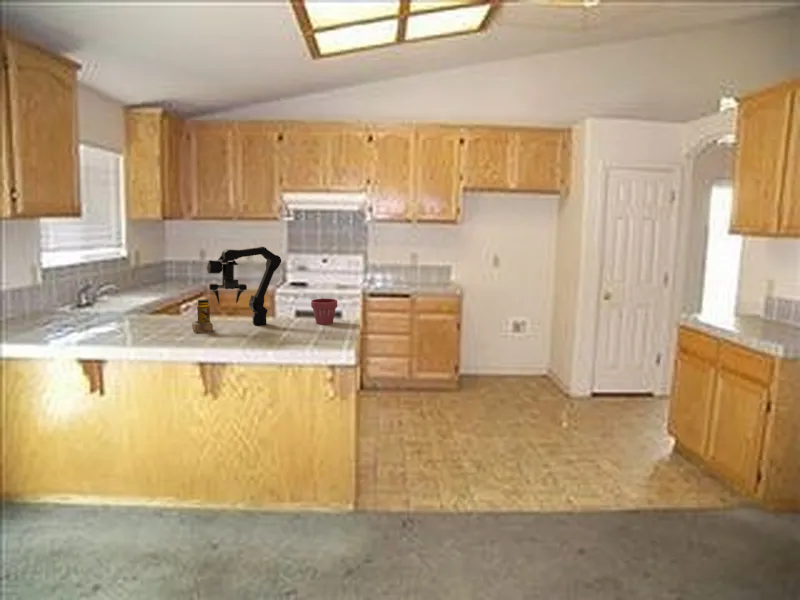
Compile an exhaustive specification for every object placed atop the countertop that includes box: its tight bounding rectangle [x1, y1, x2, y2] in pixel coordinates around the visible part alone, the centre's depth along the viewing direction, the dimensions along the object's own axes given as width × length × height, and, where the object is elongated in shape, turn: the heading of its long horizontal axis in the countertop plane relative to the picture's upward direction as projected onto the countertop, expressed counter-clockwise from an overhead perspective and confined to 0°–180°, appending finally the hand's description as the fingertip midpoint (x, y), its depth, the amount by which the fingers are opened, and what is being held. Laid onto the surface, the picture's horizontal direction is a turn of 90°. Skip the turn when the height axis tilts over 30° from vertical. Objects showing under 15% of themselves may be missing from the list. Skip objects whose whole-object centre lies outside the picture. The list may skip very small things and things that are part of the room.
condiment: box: [192, 298, 212, 324], centre depth 333 cm, size 7×8×12 cm
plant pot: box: [310, 298, 338, 326], centre depth 357 cm, size 14×14×13 cm
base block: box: [191, 321, 214, 333], centre depth 334 cm, size 9×9×4 cm
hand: (227, 303), depth 341 cm, fingers open, 9 cm apart
